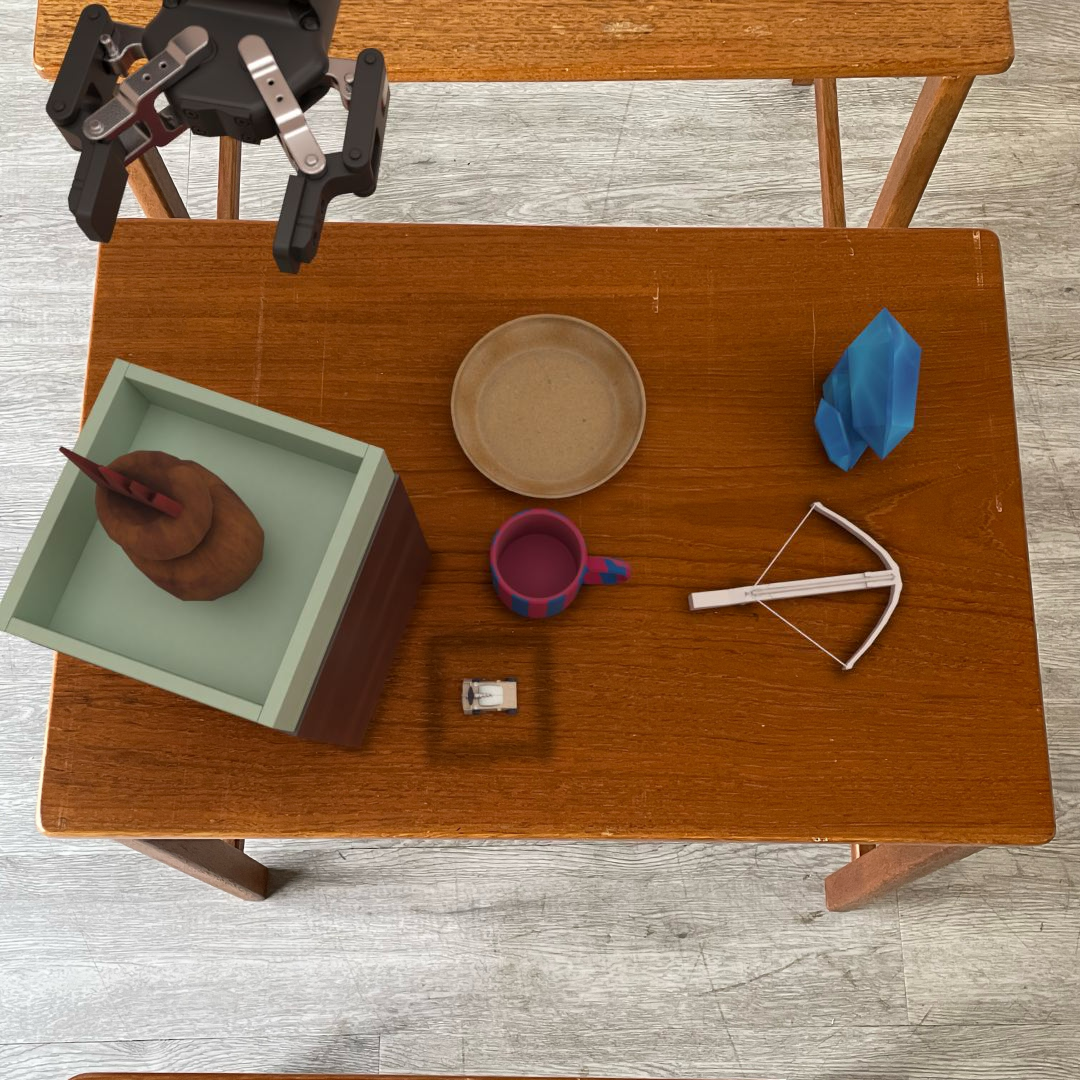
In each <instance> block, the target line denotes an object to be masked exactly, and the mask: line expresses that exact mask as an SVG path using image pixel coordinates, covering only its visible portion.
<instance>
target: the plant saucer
mask: <svg viewBox="0 0 1080 1080" xmlns="http://www.w3.org/2000/svg"><path fill="white" fill-rule="evenodd" d="M451 390H452V391H451V397H450V414H451V420H452V426H453V430H454V433H455V436H456V439H457V441H458V443H459V446H460V447H461V449H462V451H463V452H464V455H465V456H466V457H467V458H468V460H469V461H470V462H471V464H472V465H473V466H474V467H475V468H476V470H478V471H479V472H480V473H481V474H482V475H484V476H485V477H486V478H487V479H489V480H490V481H491V482H493V483H494V484H496V485H498V486H499V487H501V488H504V489H506V490H508V491H510V492H513V493H516V494H518V495H522V496H526V497H532V498H538V499H561V498H567V497H573V496H576V495H580V494H583V493H586V492H588V491H590V490H593V489H595V488H596V487H599V486H600V485H602V484H604V483H605V482H607V481H608V480H610V479H611V478H612V477H613V476H615V475H616V474H617V473H618V472H619V471H620V470H621V469H622V468H623V467H624V466H625V465H626V463H628V461H629V460H630V458H631V456H633V453H634V452H635V450H636V448H637V447H638V444H639V442H640V440H641V437H642V434H643V431H644V427H645V422H646V416H647V415H646V414H647V401H646V400H647V399H646V392H645V387H644V384H643V380H642V378H641V375H640V372H639V370H638V368H637V367H636V364H635V362H634V361H633V358H632V357H631V356H630V355H629V353H628V352H627V351H626V349H625V348H624V347H623V345H621V343H620V342H619V341H618V340H617V339H615V338H614V337H613V336H612V335H610V334H609V333H608V332H607V331H605V330H603V329H601V328H600V327H598V326H597V325H595V324H593V323H591V322H589V321H586V320H584V319H580V318H578V317H573V316H570V315H564V314H553V313H539V314H531V315H525V316H520V317H518V318H515V319H513V320H509V321H506V322H505V323H503V324H500V325H498V326H497V327H495V328H494V329H492V330H490V331H489V332H488V333H487V334H485V335H484V336H483V337H482V338H480V339H479V340H478V341H477V342H476V343H475V344H474V345H473V347H471V349H469V351H468V353H467V354H466V355H465V357H464V358H463V361H462V362H461V363H460V366H459V368H458V369H457V372H456V374H455V378H454V381H453V385H452V389H451Z"/></svg>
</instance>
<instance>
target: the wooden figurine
mask: <svg viewBox="0 0 1080 1080" xmlns="http://www.w3.org/2000/svg"><path fill="white" fill-rule="evenodd" d="M58 451H59V452H60V453H61V454H62V455H64V457H66V459H67V460H68V459H69V460H70V461H71V462H72V463H74V464H75V465H76V466H77V467H78V468H79V469H80V470H81V471H82V472H84V473H85V474H86V475H87V476H88V477H89V478H90V479H92V480H93V481H94V482H95V483H96V484H97V485H96V494H95V506H96V511H97V515H98V519H99V521H100V523H101V525H102V526H103V528H104V530H105V531H106V533H107V535H108V536H109V538H110V539H111V540H113V541H114V542H115V543H117V544H118V545H119V546H121V547H122V549H123V551H124V552H125V553H126V555H127V556H128V557H129V559H130V560H131V561H132V563H133V564H134V565H135V567H137V568H138V569H139V570H140V571H141V572H142V573H143V574H144V575H145V576H146V577H148V578H149V579H150V580H151V581H152V582H153V583H154V584H155V585H157V586H158V587H160V588H161V589H163V590H165V591H166V592H168V593H170V594H171V595H173V596H175V597H176V598H178V599H180V600H182V601H214V600H216V599H218V598H221V597H223V596H225V595H228V594H230V593H232V592H235V591H237V590H238V589H239V588H240V587H241V586H242V585H243V584H244V583H245V582H246V581H247V580H249V579H250V578H251V576H252V575H253V573H254V572H255V570H256V568H257V567H258V565H259V564H260V562H261V561H262V558H263V548H264V539H265V537H264V531H263V529H262V528H261V526H260V524H259V523H258V521H257V519H256V518H255V516H254V514H253V513H252V511H251V510H250V509H249V508H248V507H247V505H246V504H245V503H244V502H243V501H242V499H241V498H240V497H239V496H238V495H237V494H236V493H235V492H234V491H233V490H232V489H231V488H230V487H229V486H228V485H227V484H226V483H225V482H224V481H223V480H222V479H221V478H219V477H218V476H217V475H216V474H214V473H213V472H211V471H209V470H208V469H206V468H205V467H203V466H202V465H200V464H199V463H196V462H194V461H192V460H180V459H179V458H178V457H175V456H173V455H170V454H167V453H165V452H162V451H147V450H138V451H134V452H131V453H128V454H125V455H122V456H119V457H118V458H117V459H115V460H114V461H113V462H111V463H110V464H109V465H108V466H106V467H105V466H103V465H98V464H96V463H94V462H92V461H90V460H88V459H86V458H84V457H82V456H80V455H79V454H77V453H75V452H73V451H72V450H71V449H69V448H67V447H65V446H62V445H60V447H59V448H58Z"/></svg>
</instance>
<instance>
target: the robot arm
mask: <svg viewBox="0 0 1080 1080" xmlns="http://www.w3.org/2000/svg"><path fill="white" fill-rule="evenodd" d="M341 3H342V0H162V3H161V7H160V9H159V10H158V12H157V13H156V14H155V16H154V17H153V18H152V19H151V20H150V21H149V22H148V23H147V24H146V25H145V27H144V26H141V25H140V26H139V25H136V24H135V25H134V24H128V23H124V22H121V21H116V20H113V19H112V17H111V15H110V13H109V11H108V9H107V8H106V7H105V6H104V5H103V4H100V3H91V4H88V5H86V6H85V7H84V8H82V10H81V12H80V15H79V18H78V19H77V22H76V25H75V28H74V31H73V33H72V35H71V38H70V41H69V44H68V46H67V48H66V52H65V54H64V57H63V60H62V62H61V65H60V68H59V70H58V73H57V75H56V78H55V81H54V82H53V85H52V89H51V90H50V94H49V96H48V98H47V101H46V104H45V112H46V114H47V115H48V117H49V119H50V120H51V121H52V122H53V124H54V126H55V127H56V128H57V130H58V131H59V132H60V135H62V137H63V138H64V140H65V141H66V143H67V144H68V146H69V147H70V148H71V149H72V150H73V151H75V152H78V153H80V155H79V159H78V161H77V164H76V168H75V172H74V176H73V179H72V182H71V187H70V189H69V192H68V196H67V205H68V210H69V212H70V213H71V214H72V216H73V217H74V218H75V223H76V225H77V227H79V228H80V230H81V232H82V233H83V234H84V235H85V236H86V238H87V239H88V240H89V241H90V242H95V243H102V244H109V243H110V241H111V239H112V237H113V233H114V229H115V226H116V223H117V219H118V215H119V213H120V209H121V205H122V202H123V198H124V195H125V191H126V187H127V184H128V180H129V177H130V172H129V171H128V169H127V167H128V166H130V165H131V164H132V163H133V162H135V161H136V160H137V159H139V158H140V157H142V156H143V155H144V154H146V152H148V151H149V150H150V149H152V148H154V147H157V148H164V147H166V146H168V145H169V144H170V143H172V142H173V141H175V140H176V139H177V138H178V137H180V136H181V135H182V134H184V133H185V132H186V131H187V130H189V129H190V131H191V133H192V135H193V136H198V137H206V138H220V137H229V138H232V139H234V140H236V141H239V142H241V143H243V144H247V145H248V144H249V145H255V146H261V143H262V141H265V140H269V139H271V138H274V137H276V139H277V141H278V142H279V145H280V146H281V149H282V150H283V152H284V153H285V155H286V158H287V159H288V161H289V163H290V165H291V167H292V168H293V169H294V171H295V172H296V174H289V175H288V180H287V184H286V189H285V193H284V196H283V201H282V204H281V209H280V212H279V217H278V221H277V224H276V225H277V226H276V229H275V233H274V237H273V242H272V247H271V248H272V257H273V259H274V262H275V263H276V266H277V268H278V271H279V272H280V273H284V274H290V275H298V274H299V272H300V270H301V265H302V264H306V265H307V264H308V265H310V264H311V263H312V261H313V260H314V258H315V257H316V256H317V254H318V249H319V246H320V241H321V237H322V232H323V229H324V228H323V227H324V223H325V221H326V220H325V219H326V215H327V210H328V207H329V204H330V203H331V201H333V200H334V199H335V198H336V197H339V196H342V195H348V194H353V195H354V196H355V197H358V198H363V199H365V198H369V197H371V196H373V195H374V194H375V192H376V190H377V187H378V181H379V175H380V167H381V160H382V154H383V147H384V142H385V141H384V140H385V136H386V135H385V134H386V127H387V122H388V121H387V120H388V116H389V115H388V114H389V113H388V112H389V107H390V101H391V89H390V83H389V81H390V80H389V76H388V71H387V66H386V61H385V56H384V53H383V52H382V51H381V50H380V49H377V48H376V47H367V48H364V49H363V50H361V51H360V52H359V53H358V55H357V57H356V59H353V58H344V57H333V56H329V51H330V49H331V45H332V41H333V37H334V32H335V28H336V24H337V20H338V16H339V11H340V7H341ZM141 59H147V62H146V63H144V64H143V65H141V67H139V68H137V70H135V71H133V72H132V73H131V72H130V69H131V67H132V65H133V64H134V63H135V62H136V61H139V60H141ZM130 73H131V74H130ZM120 78H122V79H123V80H122V81H121V82H120V84H119V86H118V91H117V95H115V96H114V97H113V94H114V92H115V90H116V86H117V84H118V80H119V79H120ZM331 89H334V90H337V92H338V93H339V97H340V100H341V104H342V106H343V108H344V109H345V110H346V111H348V112H347V117H346V118H347V119H346V123H345V130H344V137H343V142H342V143H343V144H342V148H341V149H342V150H341V151H335V152H329V153H324V152H323V150H322V148H321V147H320V144H319V143H318V141H317V139H316V137H315V135H314V133H313V132H312V129H311V128H310V125H309V124H308V122H307V120H306V117H305V113H307V111H309V109H311V108H312V107H313V106H315V105H316V104H318V102H320V100H322V99H323V98H324V97H325V96H326V95H328V93H329V92H330V90H331ZM161 94H163V95H164V97H165V99H166V101H167V105H166V106H165V107H164V108H163V109H161V110H160V111H158V112H157V109H156V107H155V102H156V100H157V98H158V97H159V96H160V95H161ZM112 97H113V98H112Z"/></svg>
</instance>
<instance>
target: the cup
mask: <svg viewBox="0 0 1080 1080" xmlns="http://www.w3.org/2000/svg"><path fill="white" fill-rule="evenodd" d="M491 541H492V542H491V544H490V550H489V562H490V570H491V576H492V584H493V588H494V590H495V593H496V595H497V596H498V598H499V600H500V601H501V602H502V603H503V604H504V606H505V607H507V608H508V609H509V610H510V611H512V612H514V613H515V614H517V615H519V616H522V617H524V618H531V619H543V618H544V619H546V618H549V617H552V616H555V615H557V614H560V612H563V611H564V610H565V609H566V608H568V607H569V606H570V604H572V602H573V601H574V600H575V598H576V596H577V595H578V593H579V590H580V588H581V586H582V585H617V584H618V585H619V584H622V583H626V582H628V581H629V580H631V578H632V565H631V564H630V563H629V562H628V561H626V560H623V559H620V558H615V557H608V556H607V557H606V556H593V555H592V556H590V555H588V549H587V545H586V544H587V543H586V542H585V538H584V536H583V534H582V532H581V531H580V528H578V527H577V526H576V525H575V523H574V522H573V521H572V520H571V519H570V518H568V517H567V516H565V515H564V514H561V513H560V512H557V511H554V510H552V509H546V508H530V509H525V510H522V511H520V512H517V513H515V514H514V515H512V516H510V517H509V518H507V520H505V521H504V522H503V523H502V525H500V526H499V528H498V529H497V531H496V533H495V534H494V536H493V539H492V540H491Z"/></svg>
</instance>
